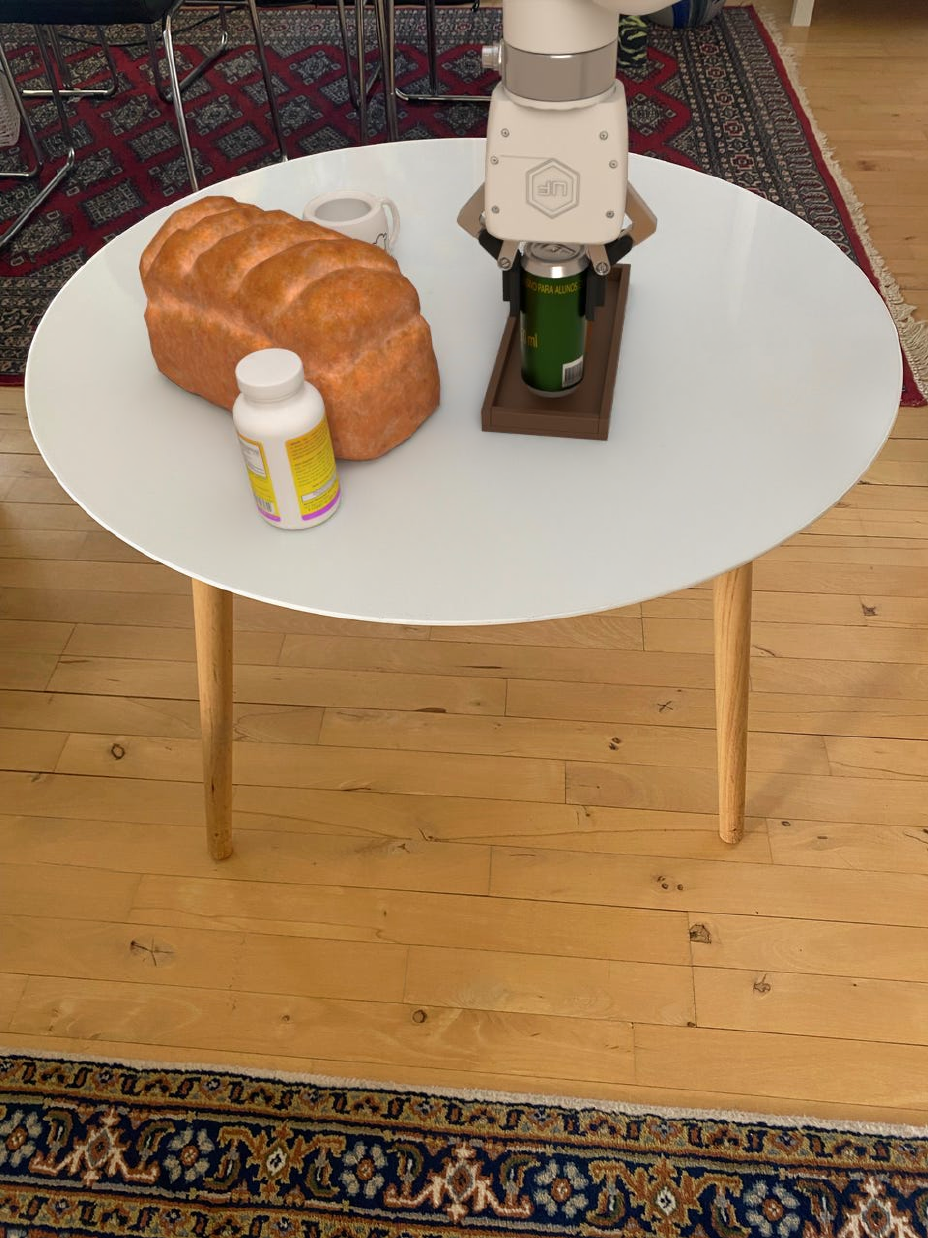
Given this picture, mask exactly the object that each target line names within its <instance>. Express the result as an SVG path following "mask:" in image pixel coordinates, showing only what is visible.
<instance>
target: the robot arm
mask: <svg viewBox="0 0 928 1238" xmlns="http://www.w3.org/2000/svg"><path fill="white" fill-rule="evenodd" d="M681 1H682V0H502V32H503V35H502V36H503V37H501V38H500V40H499V42H495V43H493V45H482V49H481V66H482V68H483V69H492V70H493V71H498V75H499V76H501V80H500V81H499V82H498V83H497V84H496V86H495V87H494V89H493V90H492V92H491V98H490V104H489V108H488V109H489V110H488V117H487V118H488V119H487V128H486V141H485V142H486V143H485V160H484V161H485V165H484V181H483V182H482V184H481V185H480V186H479V187H478V188H477V190H476V191H474V193H473V194H472V195H471V196H470V197H469V199H468V200H467V201H466V203H465V204H464V205H463V206H462V207H461V208H460V210H459V212H458V214H457V217H456V222H457V225H458V226H459V227H461V228H462V229H463V230H464V231H465V232H467V234H469V236H471V237H472V238H475V239H476V240H477V242H478V244H479V245H480V246H481V248H483V249H484V251H486V252H487V253H488V254H489V255H490V257H492V258H493V259H494V260H495V261H496V264H497V265H496V266H497V267H498V269H500V270H501V276H502V277H501V282H502V283H501V284H502V285H501V287H502V288H501V289H502V302H506V303H507V302H509V312H510V317H517V316H519V315H520V311H521V266H520V260H521V257H522V255H523V252H521V250H520V248H519V247H520V245H521V243H526V242H533V243H554V244H579V245H587V246H588V249H589V253H590V256H591V260H590V267H589V270H588V275H587V289H586V309H585V320H587V321H588V322H594V319H595V313H596V307H597V306H599V307H604V306H605V300H606V288H607V273H609V271H610V268H611V267H612V266H613V265H615V264H616V263H619V261H621V260H622V259H623V258H625V257H626V256H627V255H629V253H630V252H631V251H632V250H633V248H635V247H636V246H638V245H640V244H642V243H643V242H644V241H646V240H647V239H648V238H650V237H651V236H653V235H654V234H655V233H656V231H657V228H658V218H657V216H656V214H655V213H654V212H653V211H652V210H651V208H650V207H649V205H648V204H647V202H645V200H644V199H643V198H642V196H641V195H640V194H639V193H638V191H637V190H636V188H635V187H634V186H633V185H632V183H631V182H630V181H629V122H628V121H629V120H628V107H627V98H626V92H625V85H624V84H623V82H622V81H621V80H620V79H618V78H616V77H617V76H616V75H617V60H618V59H617V58H618V47H619V46H618V45H619V23H620V15H626V16H645V15H648V14H649V15H650V14H654V13H656V12H658V11H661V10H663V9H666V8H668V7H671V6H672V5H675V4H676V3H678V2H681ZM483 213H484V216H483ZM625 215H626V216H627V217H628V219H629V220H630V221H631V223H630V224H629V225H628V226H627V227H626V228H623V227H624V221H625Z"/></svg>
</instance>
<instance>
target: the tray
mask: <svg viewBox="0 0 928 1238" xmlns="http://www.w3.org/2000/svg"><path fill="white" fill-rule="evenodd" d="M631 271H632V264H631V263H622V262H621V263H620V262H617V263H616V264H615V265H613V266H612V267H611V268H610V271H609V273H607V288H606V300H605V306H604V307H599V306H597V307H596V313H595V319H594V322H592V324H591V342H590V349H589V351H588V352H587V353H586V354H585V372H584V377H583V380H582V382H581V384H580V385H579V387H578V388H577V389H576V390H575V391H574V392H572V393H570V394H568V395H565V396H561V397H552V398H551V397H543V396H539V395H536V394H534V393H532V392H531V391H529V390H528V388H527V387H526V386H525V384H524V382H523V380H522V377H521V311H520V315H519V316H517V317H510V311H509V312H508V315H507V319H506V322H505V325H504V329H503V332H502V336H501V340H500V344H499V347H498V351H497V354H496V358H495V361H494V365H493V367H492V368H493V369H492V372H491V375H490V379H489V382H488V386H487V389H486V391H485V396H484V399H483V403H482V407H481V410H480V416H481V420H480V421H481V431H482V432H489V433H501V434H502V433H503V434H516V435H527V436H540V437H541V436H542V437H555V438H568V439H579V440H580V439H581V440H594V441H608V437H609V431H610V425H611V418H612V417H611V416H612V410H613V402H614V395H615V388H616V381H617V374H618V368H619V367H618V366H619V359H620V355H621V354H620V353H621V346H622V338H623V331H624V324H625V317H626V311H627V303H628V297H629V289H630V281H631Z"/></svg>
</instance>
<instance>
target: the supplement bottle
mask: <svg viewBox="0 0 928 1238" xmlns="http://www.w3.org/2000/svg"><path fill="white" fill-rule="evenodd" d="M235 373H236V378H237V383H238V388H239V390H240V391H241V393H240V394H239V396H238V397H237V399H236V401H235V403H234V406H233V413H232V421H233V424H234V428H235V431H236V436H237V438H238V442H239V443H238V444H239V445H240V449H241V453H242V456H243V457H242V458H243V459H244V464H245V469H246V471H247V474H248V475H247V476H248V480H249V483H250V486H251V489H252V494H253V497H254V500H255V504H256V507H257V510H258V512H259V514H260V516H261V517H262V518H263V519H264V520H265V521H266V522H267V523H269V525H272V526H274V527H276V528H279V529H283V530H293V531H294V530H295V531H296V530H303V529H304V530H305V529H309V528H312V527H316V526H318V525H320V524H322V523H324V522H326V521H327V520H328V519H329V518H331V517H332V516H333V515H334V513H335V512H336V511H337V510H338V508H339V506H340V504H341V500H342V499H341V498H342V493H341V491H342V490H341V486H340V479H339V474H338V469H337V464H336V459H335V458H336V457H334V453H333V448H332V443H331V438H330V433H329V427H328V422H327V417H326V412H325V407H324V402H323V399H322V396H321V394H320V393H319V391H318V390H317V389H316V388H315V387H314V386H313V385H312V384H310V383H309V382H307V381H305V380H304V376H305V375H304V370H303V365H302V362H301V359H300V358H299V356H298V355H297V354H295V353H294V352H292V351H289V350H285V349H278V348H273V349H264V350H260V351H256V352H254V353H251V354H249V355H247V356H246V357H244V358H243V359H242V360H241V361H240V362H239V363H238V365H237V367H236V371H235Z"/></svg>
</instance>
